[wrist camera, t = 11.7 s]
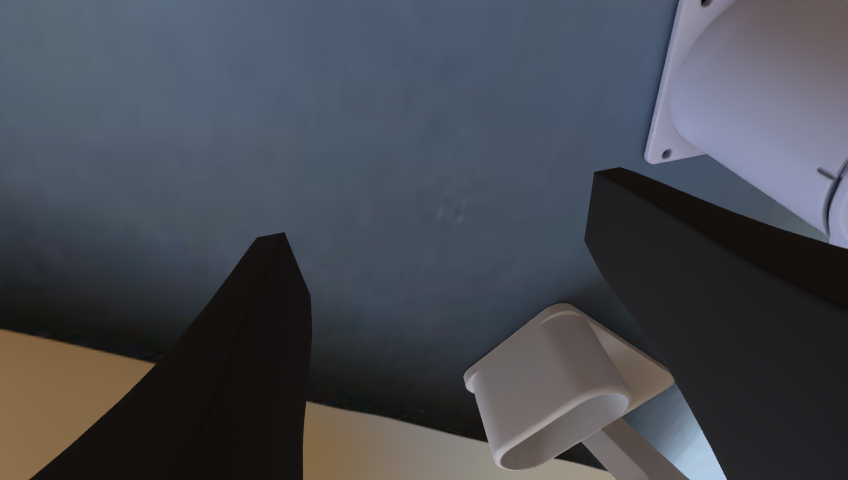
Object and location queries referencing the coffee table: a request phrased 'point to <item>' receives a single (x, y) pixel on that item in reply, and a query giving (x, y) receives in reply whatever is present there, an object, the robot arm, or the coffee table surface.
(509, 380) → the phone holder
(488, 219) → the coffee table surface
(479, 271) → the coffee table surface
